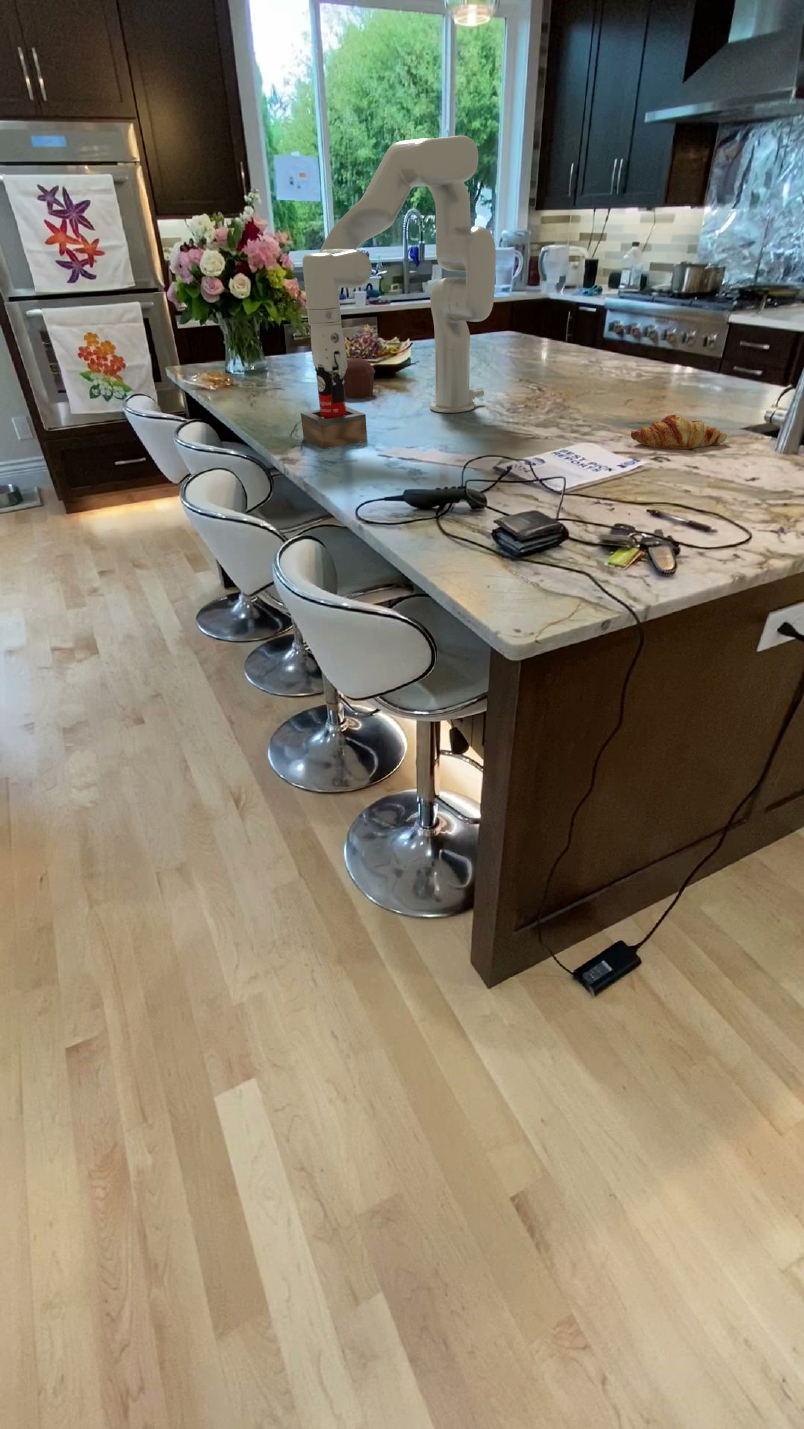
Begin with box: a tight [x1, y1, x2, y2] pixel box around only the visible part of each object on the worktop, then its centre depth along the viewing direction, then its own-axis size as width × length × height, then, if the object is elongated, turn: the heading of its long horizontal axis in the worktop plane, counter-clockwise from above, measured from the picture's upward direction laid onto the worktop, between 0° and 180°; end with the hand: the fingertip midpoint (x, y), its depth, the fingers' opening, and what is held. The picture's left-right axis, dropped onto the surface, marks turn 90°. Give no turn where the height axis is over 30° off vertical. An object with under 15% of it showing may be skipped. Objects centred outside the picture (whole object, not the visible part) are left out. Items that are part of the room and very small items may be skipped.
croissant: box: [630, 414, 728, 450], centre depth 166 cm, size 21×10×8 cm, turn 83°
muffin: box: [344, 357, 376, 399], centre depth 220 cm, size 12×11×10 cm
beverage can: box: [315, 365, 347, 419], centre depth 176 cm, size 6×6×12 cm
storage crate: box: [300, 406, 368, 450], centre depth 180 cm, size 12×12×6 cm
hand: (331, 399), depth 177 cm, fingers open, 6 cm apart
